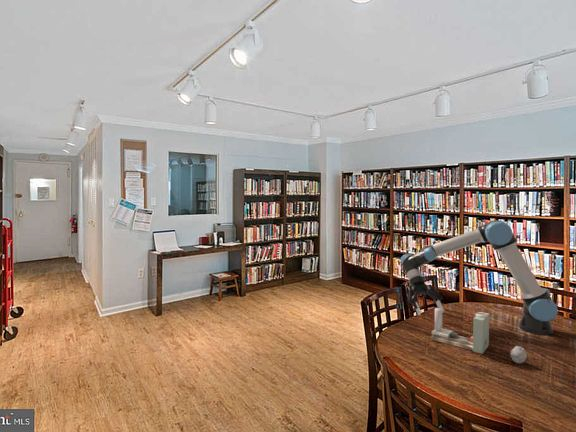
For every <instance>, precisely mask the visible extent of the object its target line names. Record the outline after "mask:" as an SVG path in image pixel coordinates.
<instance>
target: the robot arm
mask: <svg viewBox="0 0 576 432" xmlns="http://www.w3.org/2000/svg"><path fill="white" fill-rule="evenodd" d="M488 242H489V244H490V246H491V247H492V249H493V251H496V252H498V253H499V255H500V256H501V258H502V261H504V264H505V265H506V267H507V269H508V270H509V272H510V274H511V275H512V277H513V279H514V281H515V283H516V285H517V286H518V288H519V289H520V291H521V293H522V294H521V296H520V298H521V300H522V301H523V302H522V303H523V305H522V315H521V317H520V320H519V322H518V328H519V329H520V330H522V331H525V332H528V333H531V334H536V335H548V336H549V335H551V334H553V333H554V327H553V324H552V322H551V321H552V320H553V319H555V318H556V317H557V315H558V313H559V312H558V311H559V309H558V305H557V304H556V303H555V302H554V301H553V299H552V297H551V291H550V289H548V288H544V287H541V285H540V283H539V282H538V280H537V278H536V277H535V275H534V274H533V272H532V269H530V268H531V267H530V266H529V265H528V263H527V262H526V259H525V258H524V256H523V255H522V253H521V251H520V249H518V248H519V247H518V246H517V243H518V239H517V238H516V236H515V235H514V233H513V230H512V228H511V226H510V225H509V224H507V223H506V222H505V221H502V220H497V219H495V220H491V221H488V222H487V223H484V224H482V225H480V226H477V227H476V228H475V229H473V230H471V231H468V232H465V233H462V234H459V235H456V236H455V237H451V238H448V239H445V240H443V241H442V240H441V241H439V242H437V243H434V244H431V245H427V246H424V247H422V248H421V250H420V251H418V252H417V253H415V254H411V253H406V254H403V255H402V256H401V257H400V262H401V266H402V267H403V269H404V272H405V274H406V276H407V278H408V281H409V283H410V285H409V286H408V287H407V291H408V294H407V303H408V304H410V305H412V307H413V309H414V310H415V311H416V313H417V316H421V314H422V313H423V312H422V310H421V308H420V306H419V303H418V301H417V298H418V295H424V294H425V295H426V296H429V298H431V299H433V300H434V301H435V304H436V306H437V308H440V309H442V314H443V313H444V312H445V309H444V307H443V306H444V305H443V302H442V300H443V299H444V297H443V296H442V295H441V294H440V293H439V292H438V291H437V290H436V289H435V288H434V287H433V286H432V284H428V285H426V282H425V280H424V278H423V275H422V273H421V271H420V269H419V268H420V267H422V266H423V265H426V264H428V263H430V262H432V261H434V260H436V259H437V257H440V256H443V255H446V254H449V253H453V252H455V251H458V250H461V249H463V248H467V247H470V246H474V245H476V244H479V243H488ZM413 291H414V295H413Z"/></svg>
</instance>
